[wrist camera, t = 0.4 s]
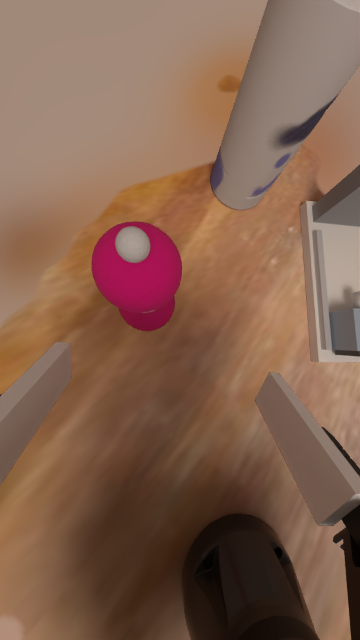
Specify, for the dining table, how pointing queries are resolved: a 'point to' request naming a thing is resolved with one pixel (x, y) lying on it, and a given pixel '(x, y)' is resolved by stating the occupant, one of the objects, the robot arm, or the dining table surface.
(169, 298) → the pepper mill
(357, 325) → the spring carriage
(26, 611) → the dining table surface
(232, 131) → the container
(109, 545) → the dining table surface
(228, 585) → the robot arm
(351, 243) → the bench
